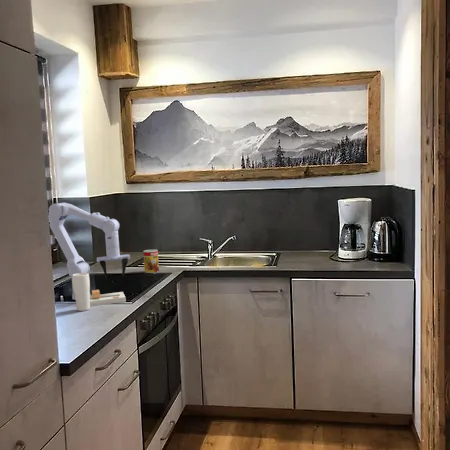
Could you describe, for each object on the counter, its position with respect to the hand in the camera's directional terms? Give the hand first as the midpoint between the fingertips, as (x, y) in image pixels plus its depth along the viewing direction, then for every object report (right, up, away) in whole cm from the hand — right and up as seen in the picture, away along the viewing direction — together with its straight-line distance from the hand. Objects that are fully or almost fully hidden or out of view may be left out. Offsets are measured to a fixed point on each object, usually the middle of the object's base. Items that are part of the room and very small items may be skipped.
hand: (114, 276), depth 241 cm
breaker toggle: (-7, -8, -7) cm, 13 cm away
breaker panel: (-3, -10, -6) cm, 12 cm away
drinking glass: (-9, -12, -18) cm, 24 cm away
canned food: (+9, -3, +55) cm, 55 cm away
